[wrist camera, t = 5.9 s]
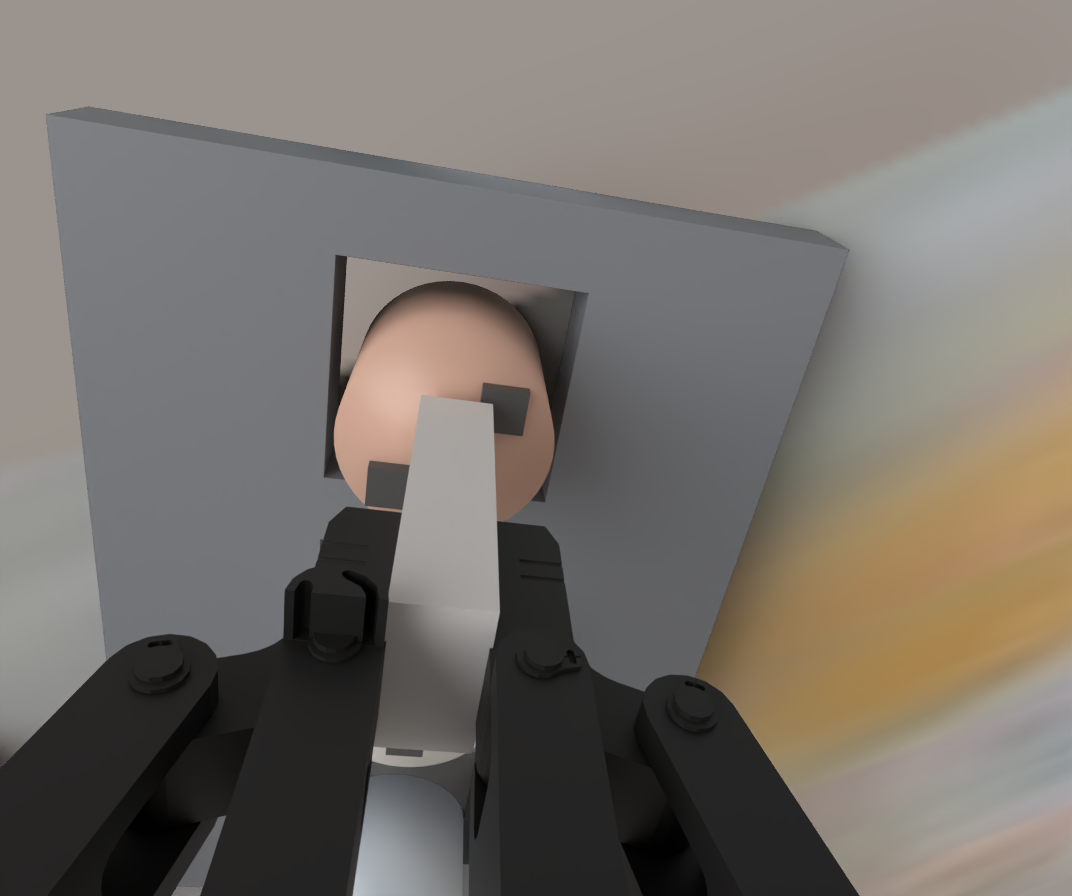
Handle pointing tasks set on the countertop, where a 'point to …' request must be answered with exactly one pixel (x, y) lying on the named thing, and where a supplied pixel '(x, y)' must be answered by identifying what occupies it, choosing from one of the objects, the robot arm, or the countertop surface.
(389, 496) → the button three
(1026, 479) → the countertop surface
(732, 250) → the console
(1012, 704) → the countertop surface
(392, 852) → the button one
